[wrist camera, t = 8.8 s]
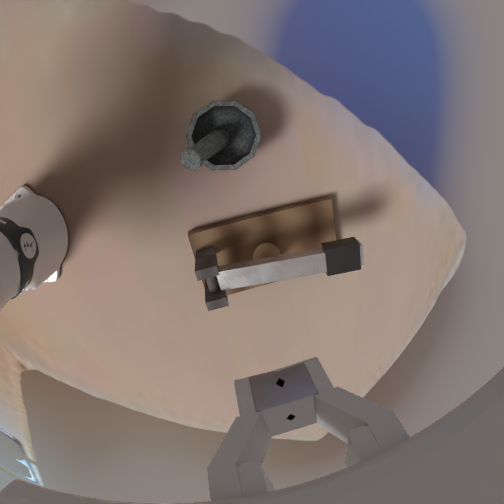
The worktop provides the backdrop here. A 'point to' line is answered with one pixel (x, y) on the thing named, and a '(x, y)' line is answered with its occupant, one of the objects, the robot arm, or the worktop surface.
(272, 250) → the smooth brown ball
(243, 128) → the mortar and pestle
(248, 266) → the lever
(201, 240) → the base
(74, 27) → the worktop surface
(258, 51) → the worktop surface
